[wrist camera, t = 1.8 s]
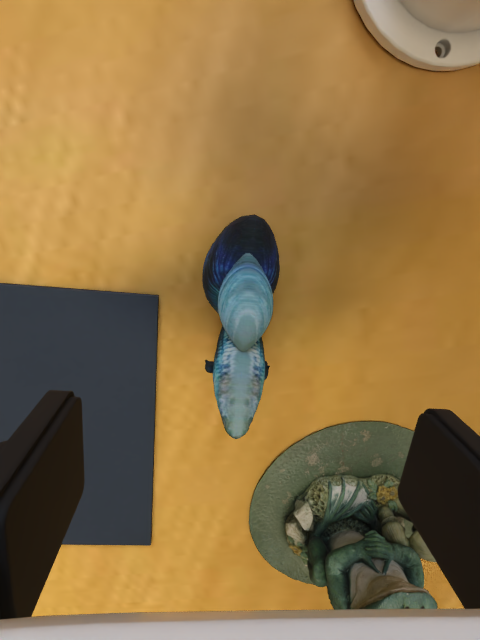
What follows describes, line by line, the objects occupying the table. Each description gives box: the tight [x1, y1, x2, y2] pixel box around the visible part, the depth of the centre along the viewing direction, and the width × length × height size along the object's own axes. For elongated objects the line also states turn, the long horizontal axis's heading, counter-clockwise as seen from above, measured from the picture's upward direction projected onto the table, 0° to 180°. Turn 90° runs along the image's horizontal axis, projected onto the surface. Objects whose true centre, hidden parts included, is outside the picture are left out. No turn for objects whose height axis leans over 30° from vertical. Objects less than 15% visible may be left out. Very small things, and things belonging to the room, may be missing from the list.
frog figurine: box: [249, 422, 437, 610], centre depth 27 cm, size 18×18×12 cm
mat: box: [0, 283, 159, 545], centre depth 28 cm, size 22×12×1 cm, turn 174°
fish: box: [203, 215, 280, 439], centre depth 21 cm, size 4×10×10 cm, turn 174°
